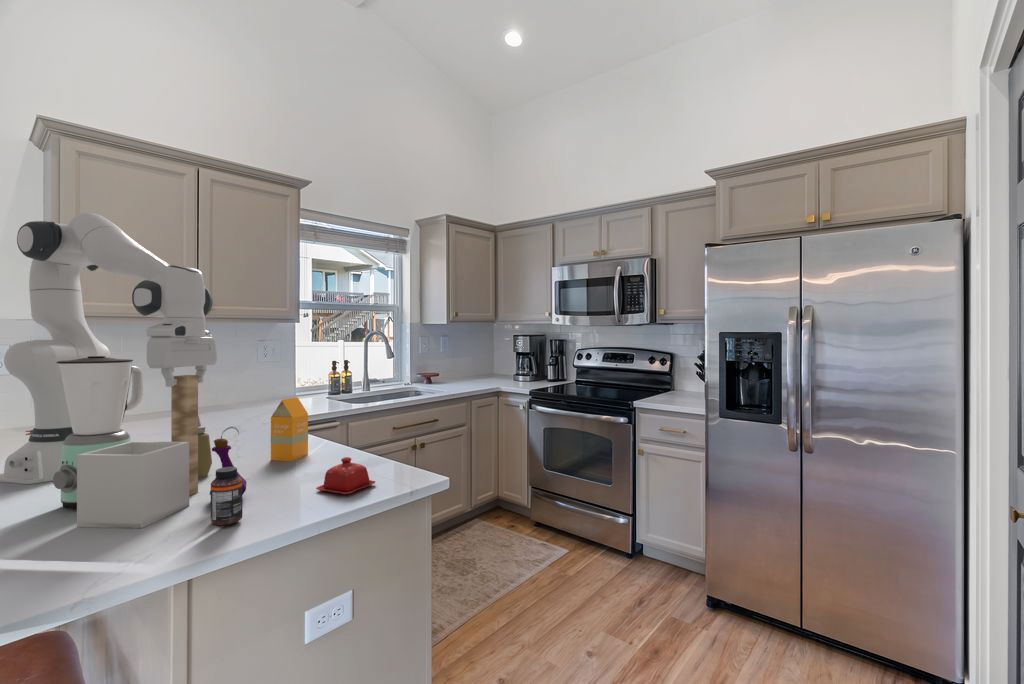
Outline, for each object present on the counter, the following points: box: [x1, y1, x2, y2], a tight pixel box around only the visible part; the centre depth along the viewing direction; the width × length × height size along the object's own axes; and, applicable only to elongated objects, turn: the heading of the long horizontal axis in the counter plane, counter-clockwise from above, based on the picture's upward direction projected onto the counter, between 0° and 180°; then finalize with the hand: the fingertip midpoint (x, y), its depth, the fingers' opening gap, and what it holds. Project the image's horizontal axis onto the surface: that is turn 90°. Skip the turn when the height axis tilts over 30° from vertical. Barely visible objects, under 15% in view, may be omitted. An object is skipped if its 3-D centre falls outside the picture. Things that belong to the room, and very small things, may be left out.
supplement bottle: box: [210, 466, 243, 526], centre depth 106 cm, size 6×6×11 cm
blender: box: [52, 356, 144, 508], centre depth 119 cm, size 19×13×35 cm
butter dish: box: [315, 456, 376, 495], centre depth 130 cm, size 12×12×8 cm
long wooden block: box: [170, 374, 199, 497], centre depth 124 cm, size 4×4×30 cm
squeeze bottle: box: [198, 415, 213, 480], centre depth 140 cm, size 8×8×18 cm
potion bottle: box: [209, 425, 247, 496], centre depth 120 cm, size 8×8×18 cm
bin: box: [76, 440, 190, 529], centre depth 109 cm, size 14×14×15 cm
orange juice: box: [270, 396, 309, 462], centre depth 161 cm, size 8×9×20 cm
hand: (185, 384), depth 124 cm, fingers open, 8 cm apart
